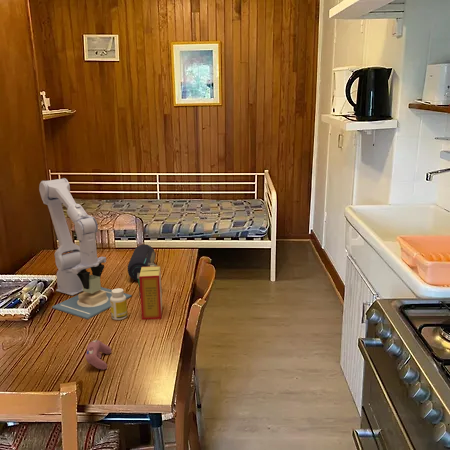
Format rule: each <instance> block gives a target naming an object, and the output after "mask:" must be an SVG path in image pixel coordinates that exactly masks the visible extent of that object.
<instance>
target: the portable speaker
mask: <svg viewBox="0 0 450 450" xmlns="http://www.w3.org/2000/svg"><path fill="white" fill-rule="evenodd" d="M156 254H157V253H156V252H155V249H154V248H153V247H152V245H148V244H145V243H144V244H140V245H138V246H136V247H135V248H134V251H133V253H132V255H131V258H130V259H129V262H128V263H127V273H128V276H129V278H131V279H132V280H134V281H137V282H138V279H137V273H140V272H141V267H147V266H148V263H153V264H155V260H156Z"/></svg>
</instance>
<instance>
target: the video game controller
mask: <svg viewBox="0 0 450 450" xmlns="http://www.w3.org/2000/svg"><path fill="white" fill-rule="evenodd" d="M112 352H113V351H112V348H111V347H110V346H109V345H107V344H105V343H104V342H102V341H100V340H99V339H96V340H92V341H90V342H89V343H88V345H87V347H86V353H85V354H84V355H85V359H86V362H87V363H88V364H89V365H91V366H93V367H95V368H97V369H98V370H101V371H102V370H104V371H105V370H106V369H107V368H108V364H107V362H106V361H104V360H102V359H101V358H102V354H105V355H110V354H111V353H112Z"/></svg>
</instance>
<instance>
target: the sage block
mask: <svg viewBox="0 0 450 450" xmlns="http://www.w3.org/2000/svg"><path fill="white" fill-rule="evenodd" d="M101 285H102V284H101V277H99V276H95V275H93V274H90V276H89V289H84V287H83V291H82V292H88V293H91V294H92V293H94V292H97V291H99V290H101V287H102V286H101Z"/></svg>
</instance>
